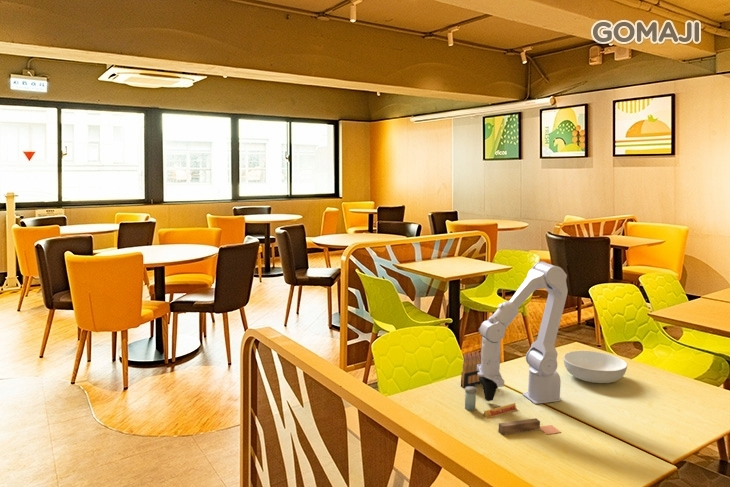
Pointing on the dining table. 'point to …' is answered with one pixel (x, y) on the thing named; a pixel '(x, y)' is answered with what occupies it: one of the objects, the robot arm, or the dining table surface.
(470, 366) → the ammunition clip
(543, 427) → the terracotta pad
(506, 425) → the bar
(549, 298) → the robot arm
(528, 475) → the dining table surface
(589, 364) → the serving bowl
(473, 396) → the grey-green cylindrical peg
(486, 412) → the chocolate bar
